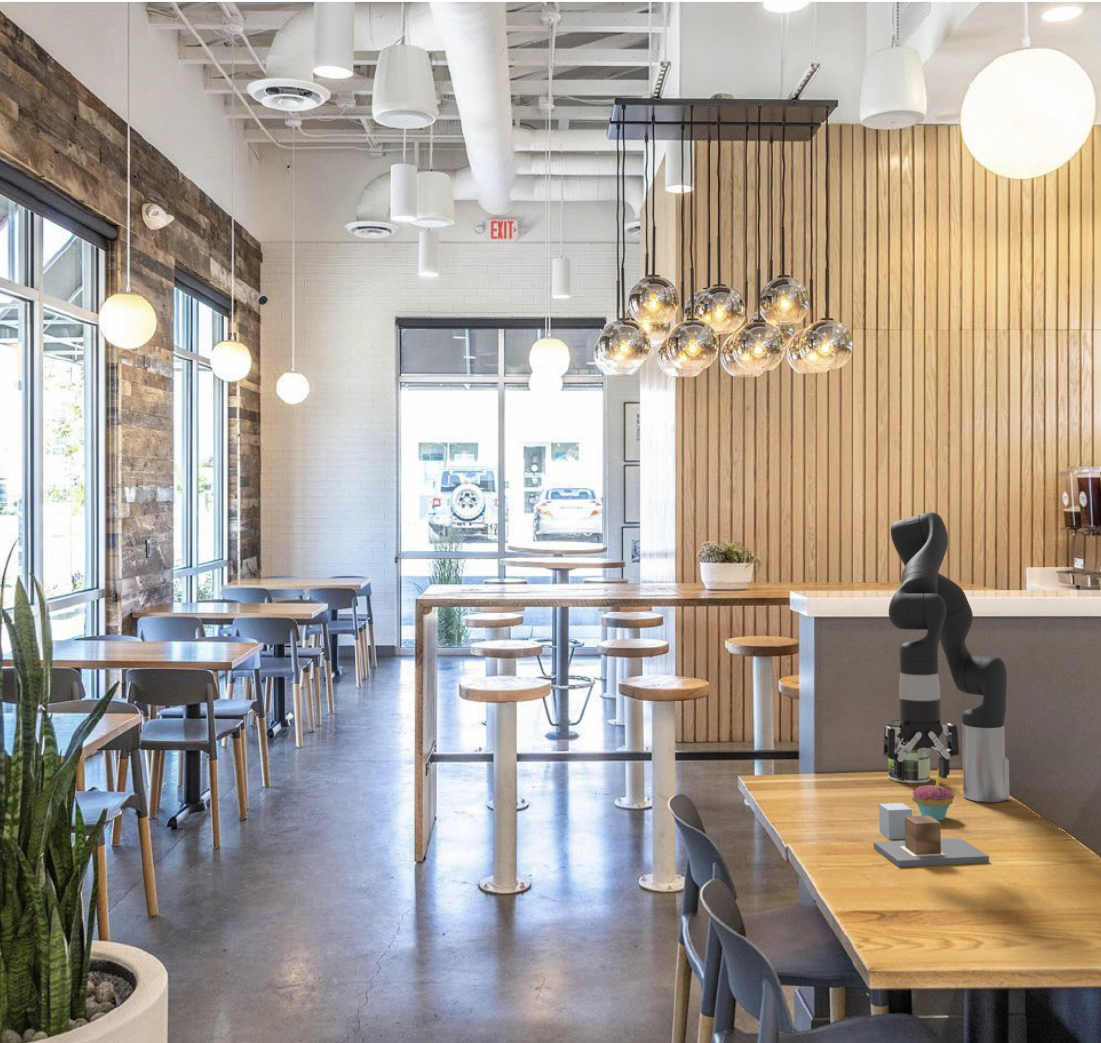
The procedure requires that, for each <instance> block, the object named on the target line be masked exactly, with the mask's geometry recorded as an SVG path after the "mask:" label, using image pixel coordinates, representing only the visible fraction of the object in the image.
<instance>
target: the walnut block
mask: <svg viewBox="0 0 1101 1043" xmlns="http://www.w3.org/2000/svg"><path fill="white" fill-rule="evenodd" d="M941 834H942V833H941V821H940V820H939V821H937V820H935V819H934V818H932V817H931V816H921V815H914V816H913V815H912V816H909V817H905V838H904V841H905V847H906V848H907V849H909V850H910V851H911V852H913V853H914V854H916V855H922V854H941V839H942V836H941Z"/></svg>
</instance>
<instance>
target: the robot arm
mask: <svg viewBox="0 0 1101 1043" xmlns="http://www.w3.org/2000/svg"><path fill="white" fill-rule="evenodd" d="M890 536H891V537H890V538H891V541H892V543H893V545H894V548H895V550H896V552H897V555H898V557H899V558H900V560H901V562H902V563H903V566H904V568H903V570H902V573H901V581H900V586H899V587H898V589H897V590H896V591H895V593H894V594H893V596H892V598H891V599H890V602H889V606H888V617H889V620H890V622H891V624H892V625H893V626H894V627H895V628H897V629H900V630H918V631H919V630H921V631H923V630H925V631H927V632H926V635H925V636H923V638H920V639H916V640H912V641H907V642H903V643H902V644H901V645H900V647H899V672H900V674H899V682H898V683H899V684H898V686H899V688H898V689H899V691H898V692H899V719H900V720H901V723H900V726H899V727H889V726H888V725H886V726H884V729H883V730H884V731H883V751H882V752H883V753H882V754H883V757H886V758H888V759H889V758H890V759H893V761H894V775H895V776H896V777H897V779H898V780H900V781H904V780H905V765H904V762H903V759H904V758H905V757H906V755H907V754H908V753H910V751H911V750H912V748H915V749H920V748H930V749H934V751H935V753H937V754H938V756H939V757H938V758H937V759H938V760H937V762H938V768H939V776H940V779H941V778H942V779H948V776H949V775H950V759H951V758H952V757H954V756H959V754H960V748H959V735H958V734H959V733H958V726H957V725H955V724H953V723H950V722H947V723H946V724H942V722H941V719H942V717H941V692H942V691H941V683H940V678H939V644H941V648H942V650H943V652H944V655H945V658H946V661H947V664H948V668H949V671H950V674H951V677H952V679H953V682H954V684H955V686H956V688H957V689H958V691H960V692H961V693H964V694H968V695H975V696H982V697H983V698H982V704H981V705H979V706H977V707H973V708H969V709H966V710H964V711H963V712H962V714H961V729H962V730H961V736H962V737H961V739H962V791H963V792H962V793H963V794H962V795H963V797H964V798H965V799H966V800H967V799H968V800H970V801H974V802H981V803H983V802H984V803H1000V802H1004V801H1009V800H1010V760H1009V758H1007V757H1006V752H1005V751H1006V750H1005V747H1006V745H1005V743H1006V742H1005V740H1006V739H1005V717H1006V711H1007V684H1008V683H1007V680H1008V679H1007V678H1008V674H1007V667H1006V664H1005V662H1004V661H1003V660H1002V659H1001V658H999V657H998V656H989V655H987V656H986V655H976V654H972V653H970V652H969V649H968V647H967V645H966V639H967V637H968V634H969V632H970V629H971V626H972V623H973V619H974V618H973V617H974V616H973V610H972V608H971V605H970V603H969V600H968V598H967V596H966V594H965V592H964V590H963V589H962V587H960V585H958V584H957V583H956V582H954V581H953V580H952V579H950V578H948V577H947V576H945V575H943V574H941V573H940V568H941V566H942V563H943V561H944V558H945V555H946V553H947V549H948V546H949V537H948V531H947V528H946V524H945V523H944V521H943V518H942V517H941V516H940V515H939V513H937V512H934V511H933V512H924V513H921V514H917V515H914V516H909V517H907V518H906V517H905V518H902V519H899V520H896V521H895V522H893V523H892V525H891V526H890ZM899 733H900V735H901V736H902V737H903V738H902V740H901V741H900V743H899V744H898V747H897V749H896V750H895V739H896V738H897V735H898V734H899ZM942 733H943V734H944V735H945V736H946V747H947V748H945V745H944V744H943V743H942V742H941V741H940V739H939V738H940V736H941V735H942Z"/></svg>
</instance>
